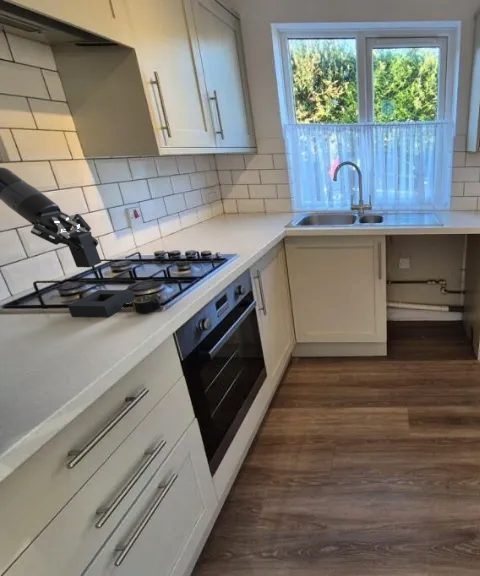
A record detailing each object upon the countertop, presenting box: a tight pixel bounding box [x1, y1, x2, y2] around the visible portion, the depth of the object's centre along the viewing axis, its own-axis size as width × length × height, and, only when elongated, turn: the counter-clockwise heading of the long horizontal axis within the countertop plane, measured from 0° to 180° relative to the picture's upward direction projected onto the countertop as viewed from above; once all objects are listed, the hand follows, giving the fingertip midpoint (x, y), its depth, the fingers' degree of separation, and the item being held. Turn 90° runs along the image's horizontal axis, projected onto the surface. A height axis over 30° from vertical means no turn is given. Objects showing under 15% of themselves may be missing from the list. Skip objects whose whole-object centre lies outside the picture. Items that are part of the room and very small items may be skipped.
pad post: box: [67, 231, 102, 268], centre depth 99 cm, size 4×4×9 cm
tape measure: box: [131, 293, 161, 314], centre depth 104 cm, size 7×7×4 cm
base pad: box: [67, 289, 136, 318], centre depth 106 cm, size 11×11×4 cm
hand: (89, 247), depth 99 cm, fingers closed on pad post, 4 cm apart
